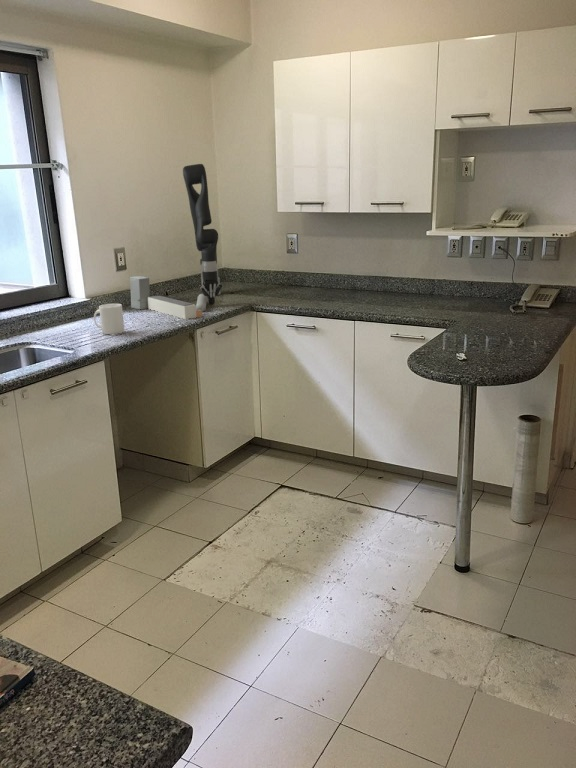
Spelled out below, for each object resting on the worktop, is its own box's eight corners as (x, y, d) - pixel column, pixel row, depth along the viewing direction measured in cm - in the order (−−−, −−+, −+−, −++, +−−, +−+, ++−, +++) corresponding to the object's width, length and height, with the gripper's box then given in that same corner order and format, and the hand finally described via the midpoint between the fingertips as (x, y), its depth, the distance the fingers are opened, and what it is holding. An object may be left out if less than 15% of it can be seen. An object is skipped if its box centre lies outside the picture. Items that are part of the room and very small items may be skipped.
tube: (207, 304, 315) (208, 295, 339) (196, 301, 314) (198, 292, 338) (204, 315, 317) (206, 305, 340) (193, 312, 316) (196, 302, 340)
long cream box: (164, 306, 333) (163, 294, 331) (201, 316, 307) (201, 303, 305) (148, 309, 328) (147, 296, 326) (185, 319, 301) (184, 305, 300)
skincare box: (131, 308, 332) (127, 277, 327) (142, 306, 337) (139, 275, 332) (140, 310, 326) (137, 278, 322) (152, 307, 331) (149, 276, 326)
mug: (125, 333, 277) (122, 306, 273) (96, 336, 274) (92, 309, 270) (123, 329, 286) (121, 302, 282) (95, 331, 282) (92, 305, 279)
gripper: (216, 268, 331) (218, 301, 337) (194, 270, 323) (196, 305, 329) (224, 269, 326) (226, 303, 331) (202, 272, 318) (204, 307, 323)
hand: (211, 304), depth 330 cm, fingers closed
